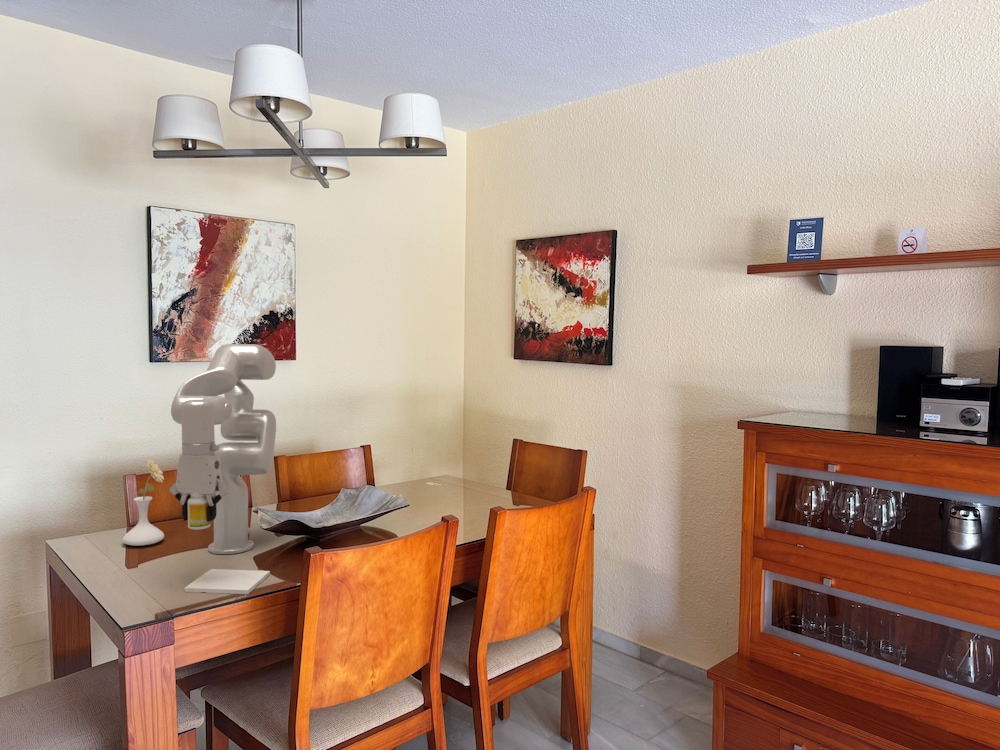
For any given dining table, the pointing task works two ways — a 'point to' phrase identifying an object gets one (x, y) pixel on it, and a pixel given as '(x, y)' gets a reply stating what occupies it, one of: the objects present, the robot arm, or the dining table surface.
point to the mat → (227, 581)
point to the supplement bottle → (197, 512)
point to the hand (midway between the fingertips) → (199, 519)
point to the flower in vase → (145, 514)
